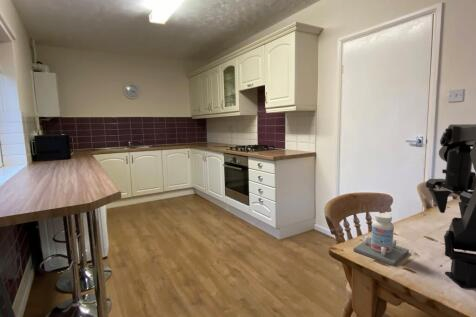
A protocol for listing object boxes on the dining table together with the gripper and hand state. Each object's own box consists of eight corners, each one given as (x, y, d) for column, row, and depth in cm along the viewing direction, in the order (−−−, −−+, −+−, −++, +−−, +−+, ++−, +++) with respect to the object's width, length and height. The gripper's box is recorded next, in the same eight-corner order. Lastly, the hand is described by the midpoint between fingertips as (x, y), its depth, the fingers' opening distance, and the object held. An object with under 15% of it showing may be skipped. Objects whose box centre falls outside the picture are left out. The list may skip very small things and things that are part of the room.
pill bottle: (369, 250, 86) (370, 216, 84) (372, 243, 91) (374, 210, 89) (391, 255, 82) (393, 220, 81) (393, 247, 87) (395, 214, 86)
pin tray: (408, 252, 86) (409, 242, 86) (393, 265, 79) (394, 254, 78) (370, 240, 95) (370, 230, 95) (353, 251, 88) (353, 240, 87)
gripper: (518, 174, 70) (510, 231, 72) (462, 161, 88) (457, 207, 91) (474, 175, 70) (467, 231, 73) (427, 162, 88) (423, 207, 91)
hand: (453, 218), depth 82 cm, fingers open, 9 cm apart
